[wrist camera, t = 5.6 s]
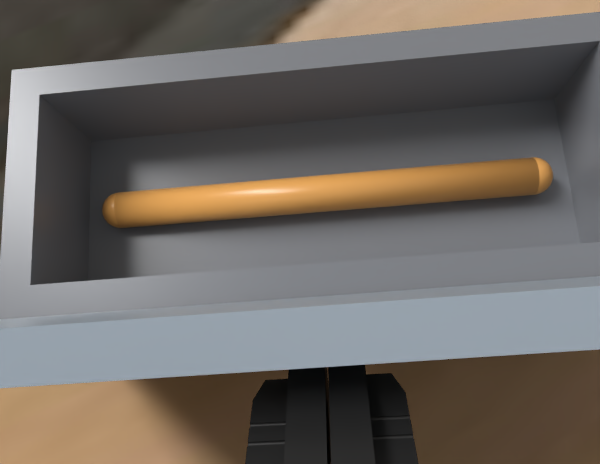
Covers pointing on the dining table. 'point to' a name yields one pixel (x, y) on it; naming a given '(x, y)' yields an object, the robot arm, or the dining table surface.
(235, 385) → the dining table surface
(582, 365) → the dining table surface
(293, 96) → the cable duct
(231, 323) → the duct lid
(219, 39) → the dining table surface
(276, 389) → the robot arm
